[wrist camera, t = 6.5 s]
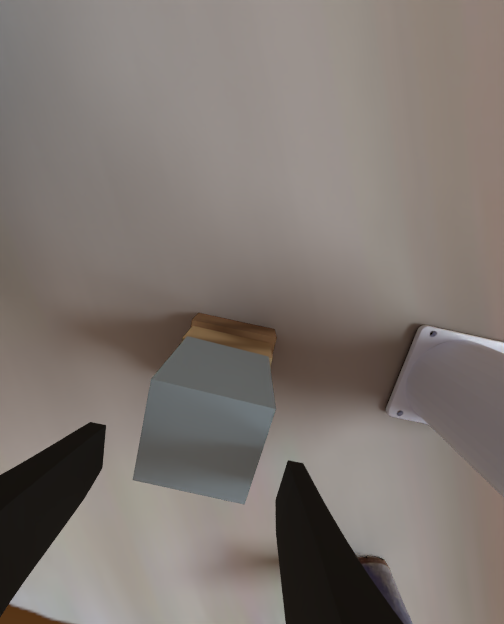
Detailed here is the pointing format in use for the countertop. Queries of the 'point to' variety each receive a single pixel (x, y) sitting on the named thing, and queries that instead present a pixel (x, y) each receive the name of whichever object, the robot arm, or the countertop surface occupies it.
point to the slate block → (206, 420)
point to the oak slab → (230, 341)
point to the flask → (385, 585)
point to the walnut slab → (236, 328)
